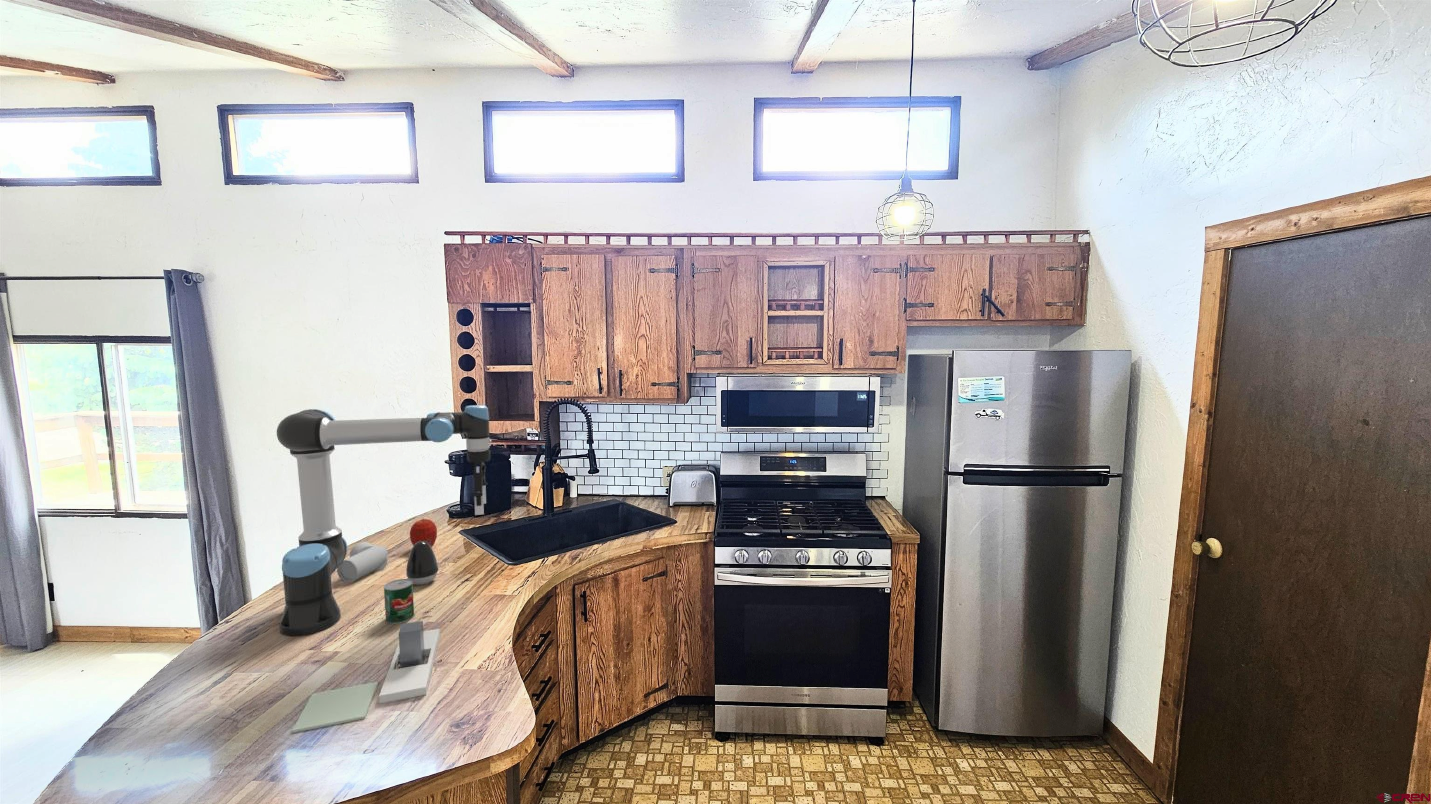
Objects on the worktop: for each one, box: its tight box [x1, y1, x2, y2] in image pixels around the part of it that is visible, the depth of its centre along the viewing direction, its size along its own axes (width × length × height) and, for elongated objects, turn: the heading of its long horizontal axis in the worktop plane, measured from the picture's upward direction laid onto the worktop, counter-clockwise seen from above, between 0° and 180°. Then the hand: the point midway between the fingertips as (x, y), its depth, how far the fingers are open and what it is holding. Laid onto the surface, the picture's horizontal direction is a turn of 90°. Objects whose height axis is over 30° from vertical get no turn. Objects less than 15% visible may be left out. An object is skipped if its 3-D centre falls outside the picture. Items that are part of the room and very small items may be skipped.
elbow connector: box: [336, 541, 389, 583], centre depth 210 cm, size 18×11×20 cm
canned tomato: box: [383, 578, 415, 625], centre depth 175 cm, size 8×8×11 cm
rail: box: [378, 628, 441, 704], centre depth 149 cm, size 10×30×2 cm, turn 20°
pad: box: [291, 681, 379, 734], centre depth 132 cm, size 14×14×1 cm
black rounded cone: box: [405, 539, 439, 586], centre depth 201 cm, size 10×10×15 cm
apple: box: [409, 518, 438, 548], centre depth 232 cm, size 10×10×14 cm
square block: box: [398, 620, 426, 668], centre depth 149 cm, size 5×5×11 cm
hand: (480, 508), depth 197 cm, fingers open, 13 cm apart
